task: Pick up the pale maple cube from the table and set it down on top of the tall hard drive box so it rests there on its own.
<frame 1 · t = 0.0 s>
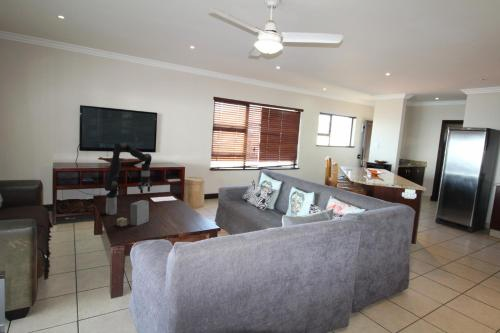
hand: (145, 192, 266), 29 cm above the table, fingers open, 8 cm apart
hard drive box: (139, 223, 268), on the table
maple cube: (122, 225, 260), on the table
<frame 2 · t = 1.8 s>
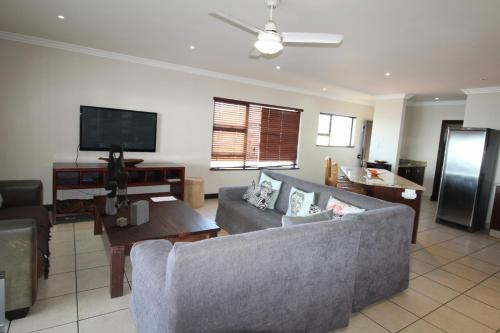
hand: (122, 210, 258), 13 cm above the table, fingers open, 8 cm apart
nothing on the table moved.
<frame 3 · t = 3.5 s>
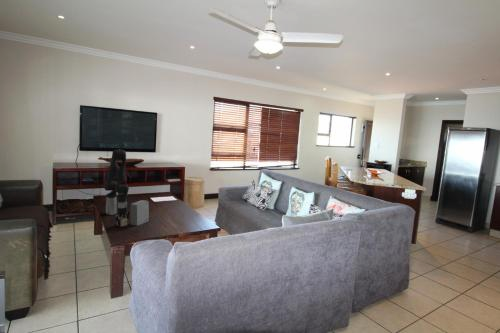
hand: (122, 224, 260), 1 cm above the table, fingers closed on maple cube, 6 cm apart
maple cube: (122, 225, 260), on the table, touching gripper
everything else where it was.
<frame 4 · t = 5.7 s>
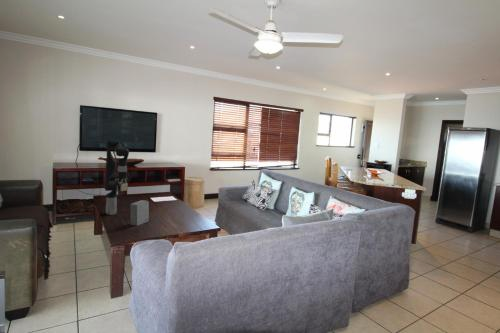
hand: (122, 189, 255), 33 cm above the table, fingers closed on maple cube, 6 cm apart
maple cube: (122, 190, 255), point 33 cm above the table, touching gripper
everything else where it was.
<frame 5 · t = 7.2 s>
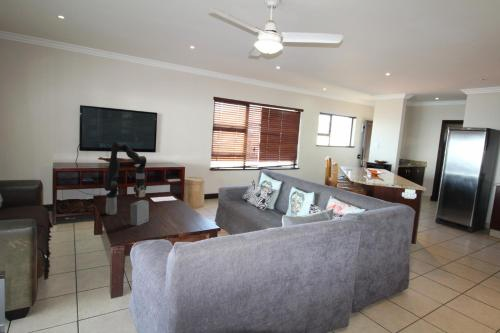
hand: (140, 195, 265), 26 cm above the table, fingers closed on maple cube, 6 cm apart
maple cube: (140, 196, 265), point 26 cm above the table, touching gripper
everything else where it was.
when the fingers open (22 cm above the table, at t = 8.4 s): maple cube drops 1 cm, resting on hard drive box.
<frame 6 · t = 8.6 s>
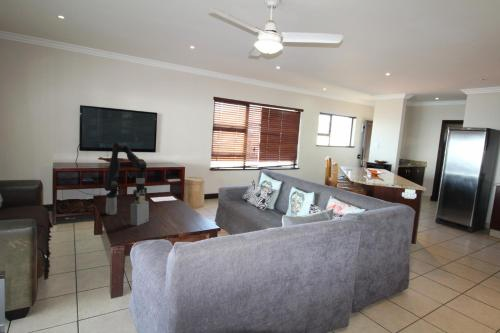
hand: (140, 199, 265), 22 cm above the table, fingers open, 7 cm apart
hard drive box: (139, 223, 268), on the table, touching maple cube
maple cube: (140, 202, 265), point 20 cm above the table, touching hard drive box
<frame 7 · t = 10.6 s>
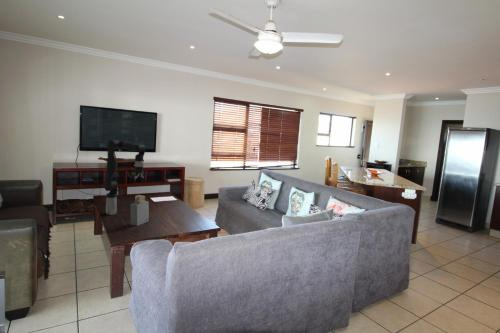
hand: (138, 182, 269), 37 cm above the table, fingers open, 8 cm apart
nothing on the table moved.
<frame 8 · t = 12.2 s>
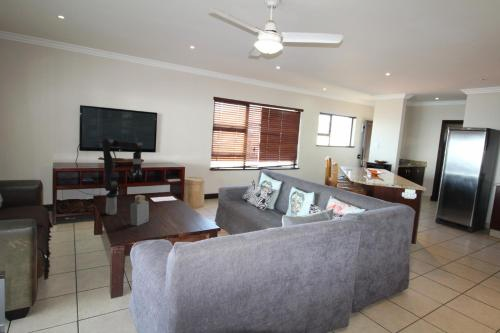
hand: (136, 179, 277), 38 cm above the table, fingers open, 8 cm apart
nothing on the table moved.
at the end: maple cube inside the target area on the hard drive box (0.1 cm from its centre), point 20.1 cm above the hard drive box's base; hard drive box tilted 0°; the gripper is holding nothing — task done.
